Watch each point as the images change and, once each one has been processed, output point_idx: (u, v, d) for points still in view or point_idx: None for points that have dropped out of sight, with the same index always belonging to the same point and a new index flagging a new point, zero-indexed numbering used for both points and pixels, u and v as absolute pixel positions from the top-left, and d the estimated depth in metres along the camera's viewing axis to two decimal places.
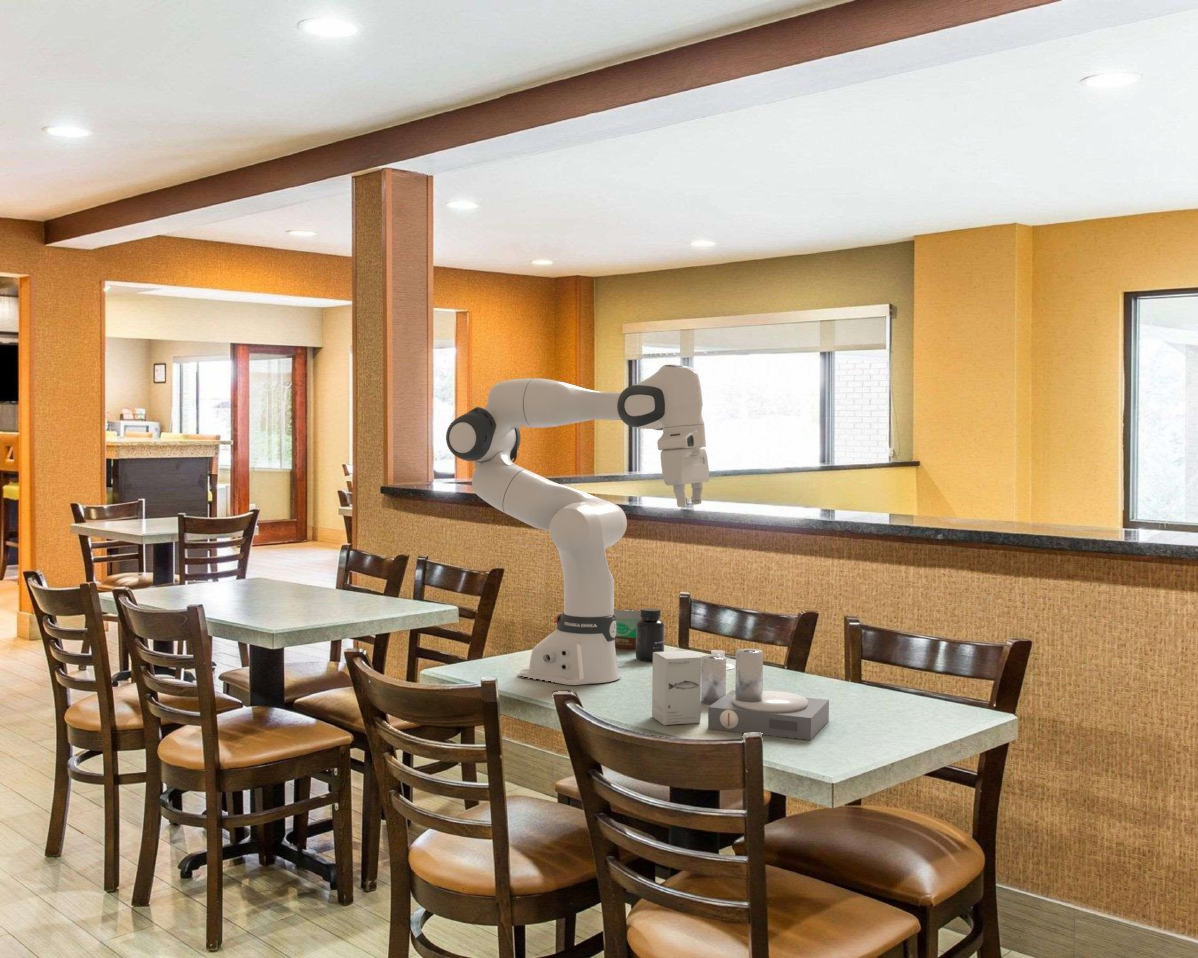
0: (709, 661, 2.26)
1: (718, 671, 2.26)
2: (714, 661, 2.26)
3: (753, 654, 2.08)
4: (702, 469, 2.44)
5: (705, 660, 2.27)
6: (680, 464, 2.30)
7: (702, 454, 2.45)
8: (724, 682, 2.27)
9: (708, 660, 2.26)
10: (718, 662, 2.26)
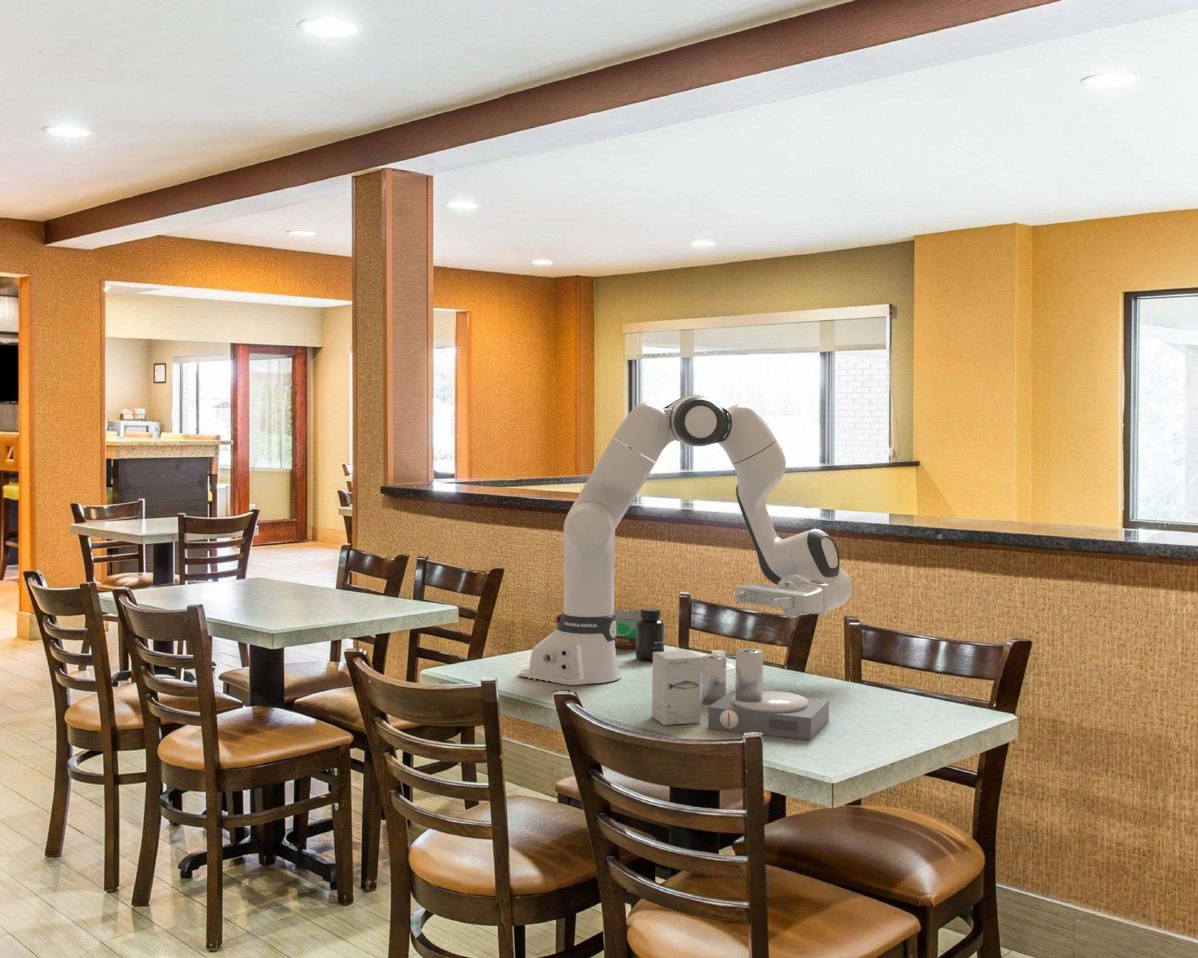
0: (709, 661, 2.26)
1: (718, 671, 2.26)
2: (714, 661, 2.26)
3: (753, 654, 2.08)
4: None
5: (705, 660, 2.27)
6: (817, 611, 2.35)
7: None
8: (724, 682, 2.27)
9: (708, 660, 2.26)
10: (718, 662, 2.26)
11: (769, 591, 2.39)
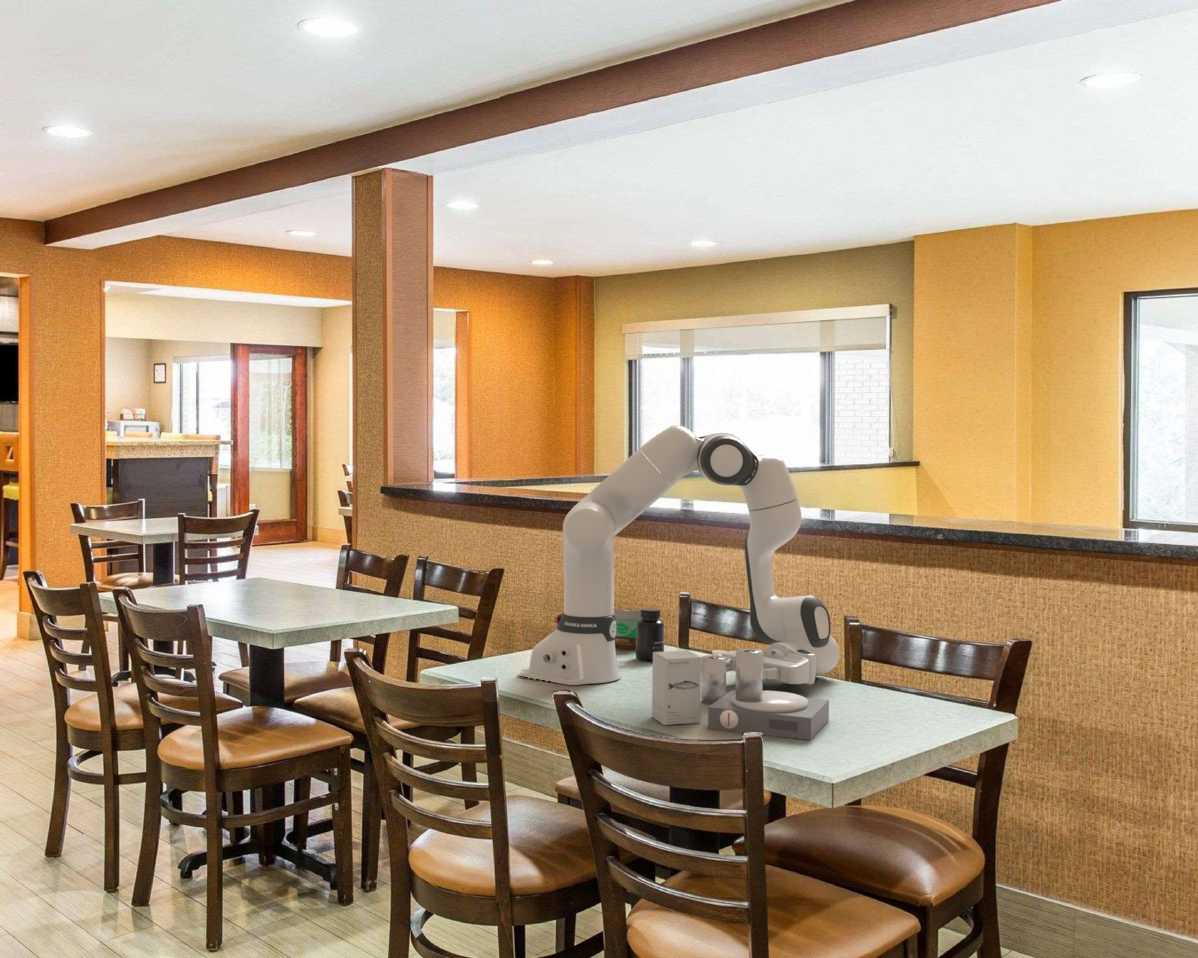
0: (709, 661, 2.26)
1: (718, 671, 2.26)
2: (714, 661, 2.26)
3: (753, 654, 2.08)
4: None
5: (705, 660, 2.27)
6: (803, 682, 2.33)
7: None
8: (724, 682, 2.27)
9: (708, 660, 2.26)
10: (718, 662, 2.26)
11: None
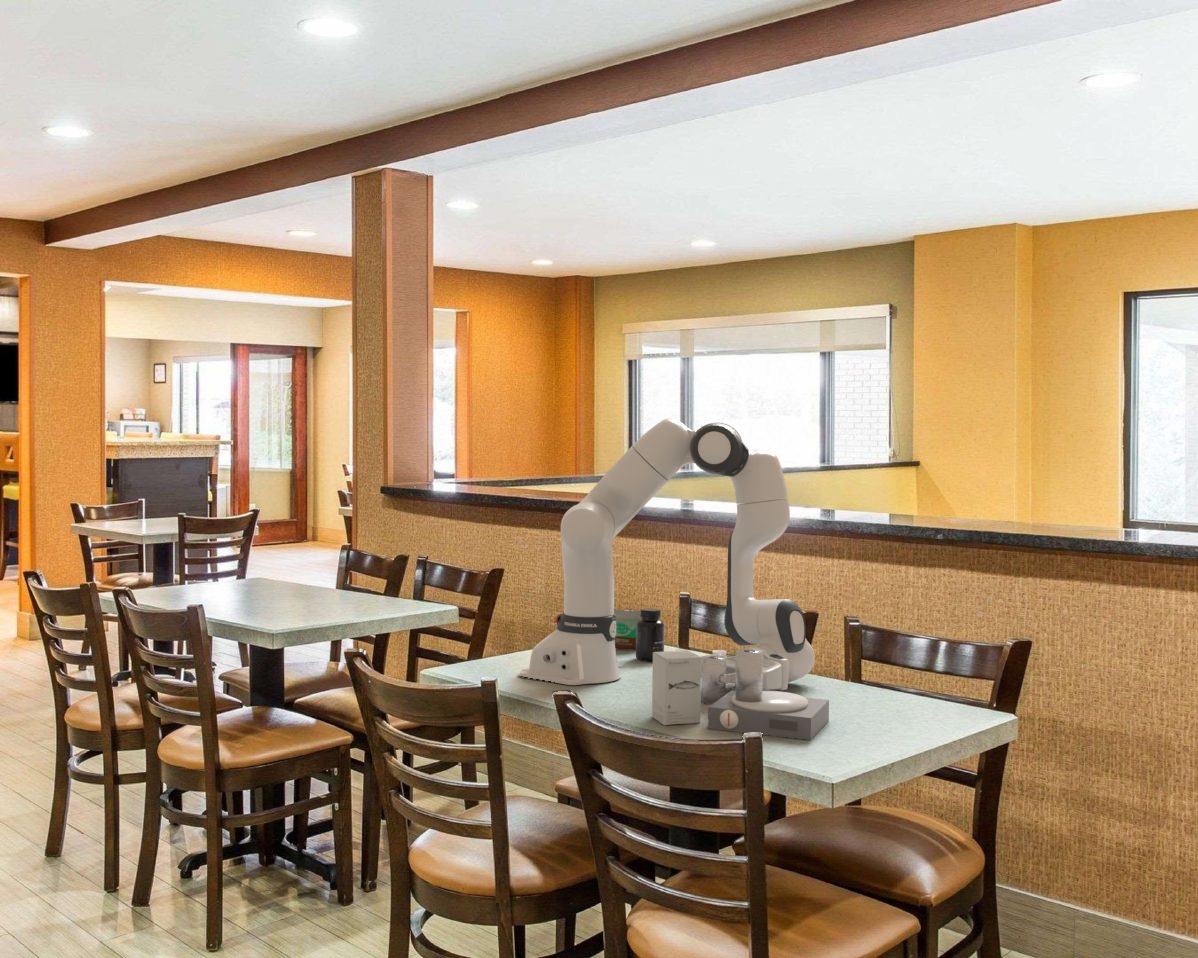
0: (709, 661, 2.26)
1: (718, 671, 2.26)
2: (714, 661, 2.26)
3: (753, 654, 2.08)
4: None
5: (705, 660, 2.27)
6: (776, 688, 2.27)
7: None
8: None
9: (708, 660, 2.26)
10: (718, 662, 2.26)
11: (726, 665, 2.31)
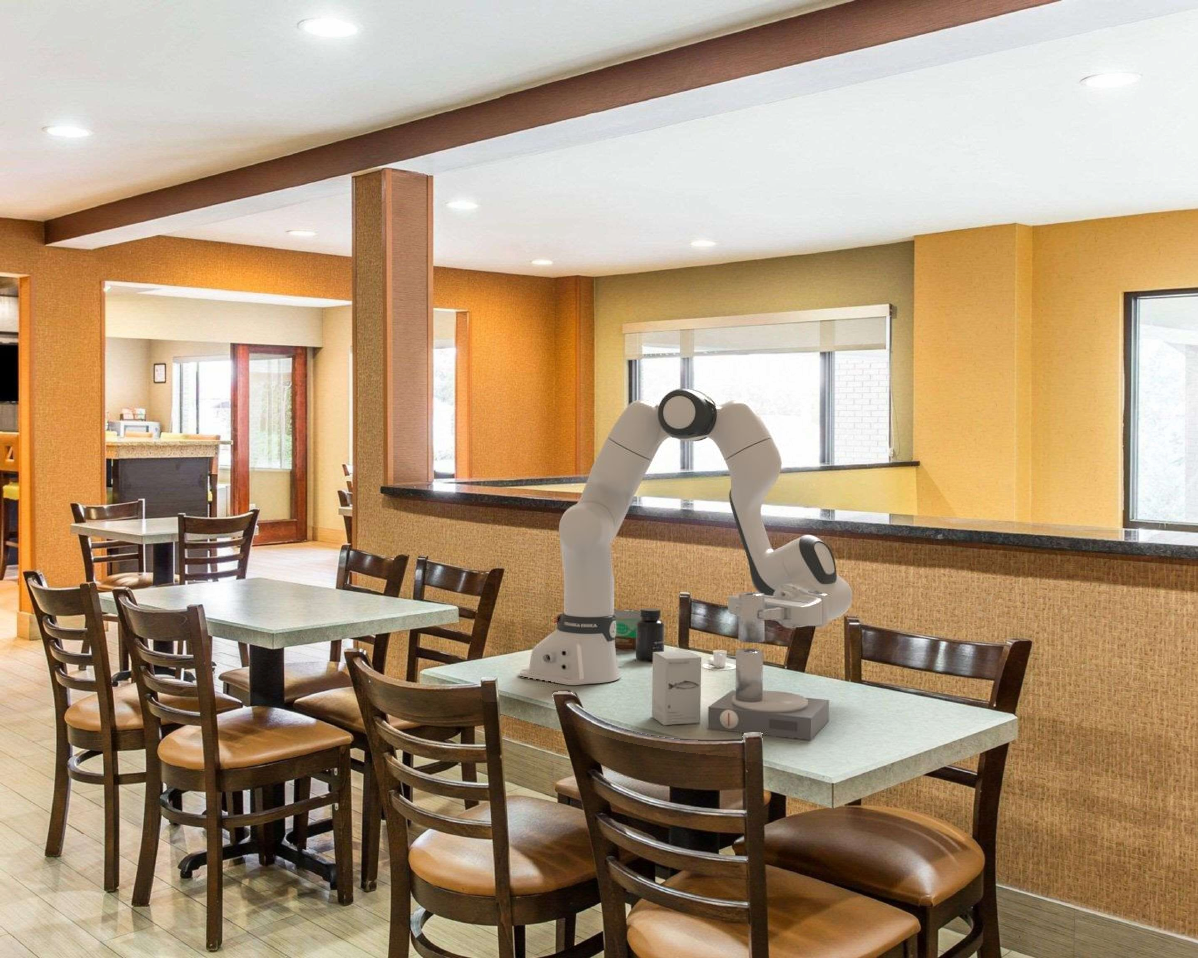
0: (747, 597, 2.18)
1: (757, 607, 2.18)
2: (752, 597, 2.17)
3: (753, 654, 2.08)
4: None
5: (743, 597, 2.18)
6: (816, 624, 2.18)
7: None
8: (763, 619, 2.19)
9: (746, 596, 2.18)
10: (756, 598, 2.18)
11: (764, 602, 2.23)
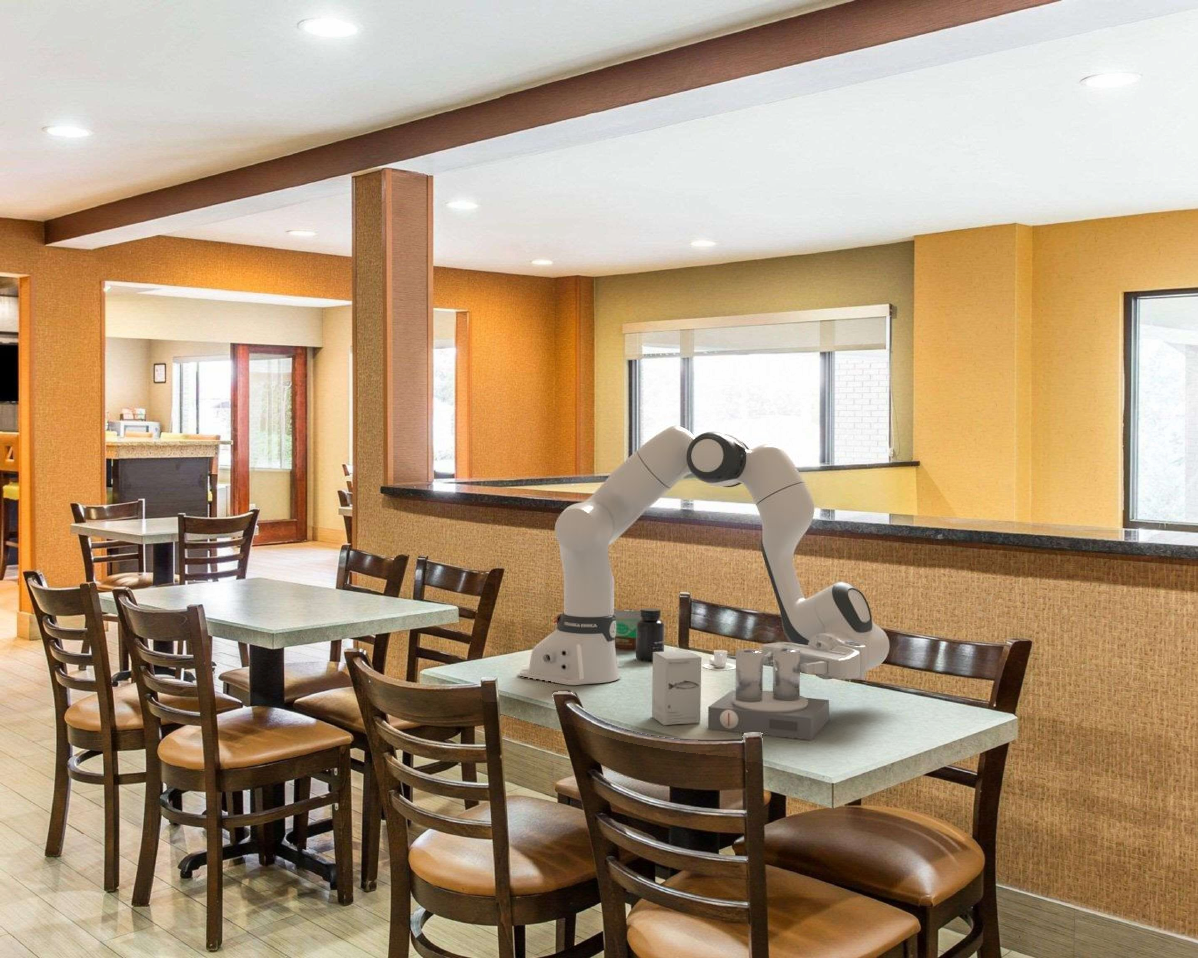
0: (782, 654, 2.09)
1: (792, 665, 2.09)
2: (788, 654, 2.09)
3: (753, 654, 2.08)
4: None
5: (778, 653, 2.10)
6: (854, 677, 2.10)
7: None
8: (798, 677, 2.10)
9: (781, 653, 2.09)
10: (792, 655, 2.09)
11: None
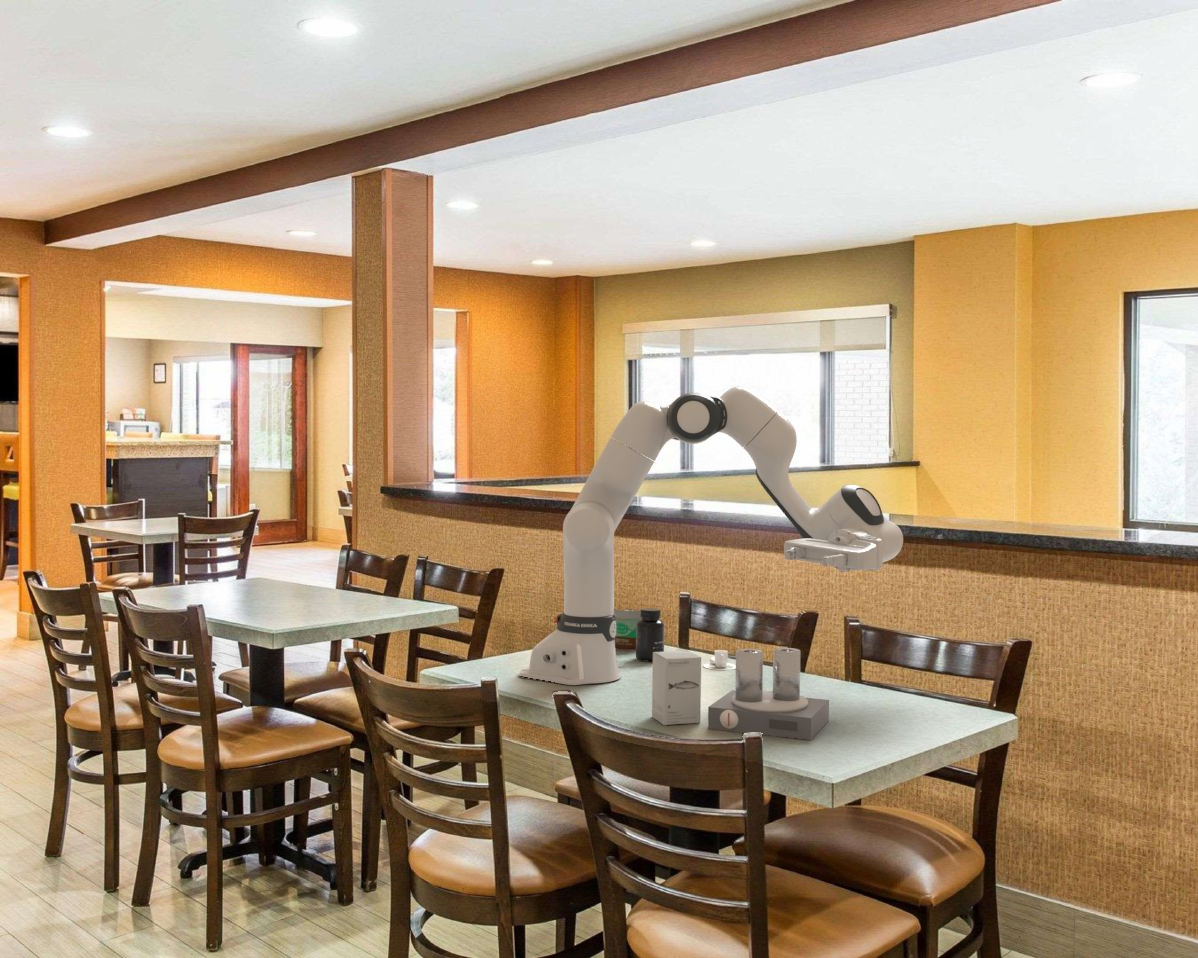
0: (782, 654, 2.09)
1: (793, 665, 2.09)
2: (788, 654, 2.09)
3: (753, 654, 2.08)
4: None
5: (778, 653, 2.10)
6: (872, 568, 2.26)
7: None
8: (798, 677, 2.10)
9: (781, 653, 2.09)
10: (792, 655, 2.09)
11: (820, 547, 2.31)
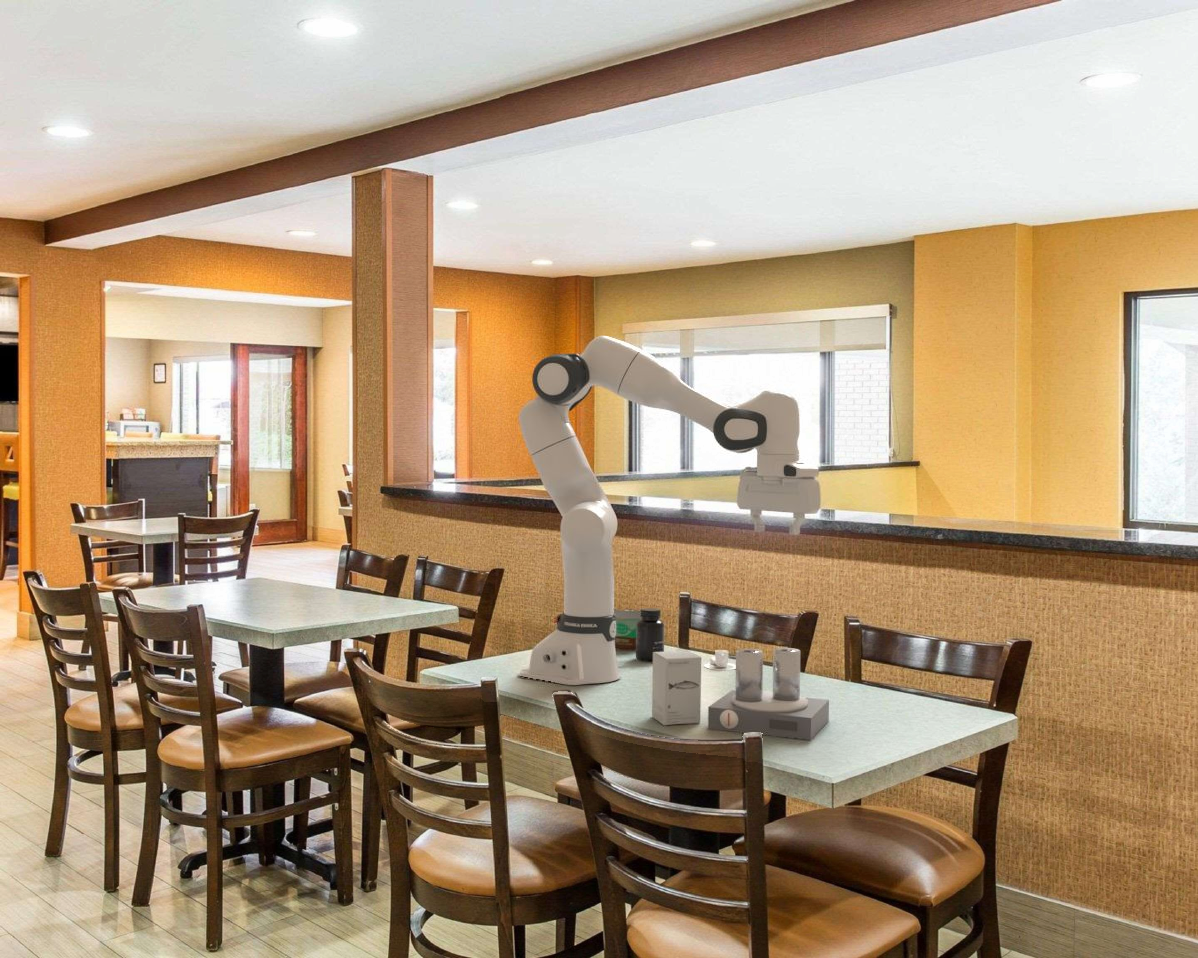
0: (782, 654, 2.09)
1: (792, 664, 2.09)
2: (788, 654, 2.09)
3: (753, 654, 2.08)
4: None
5: (778, 653, 2.10)
6: None
7: None
8: (798, 677, 2.10)
9: (781, 653, 2.09)
10: (792, 655, 2.09)
11: (772, 510, 2.40)
